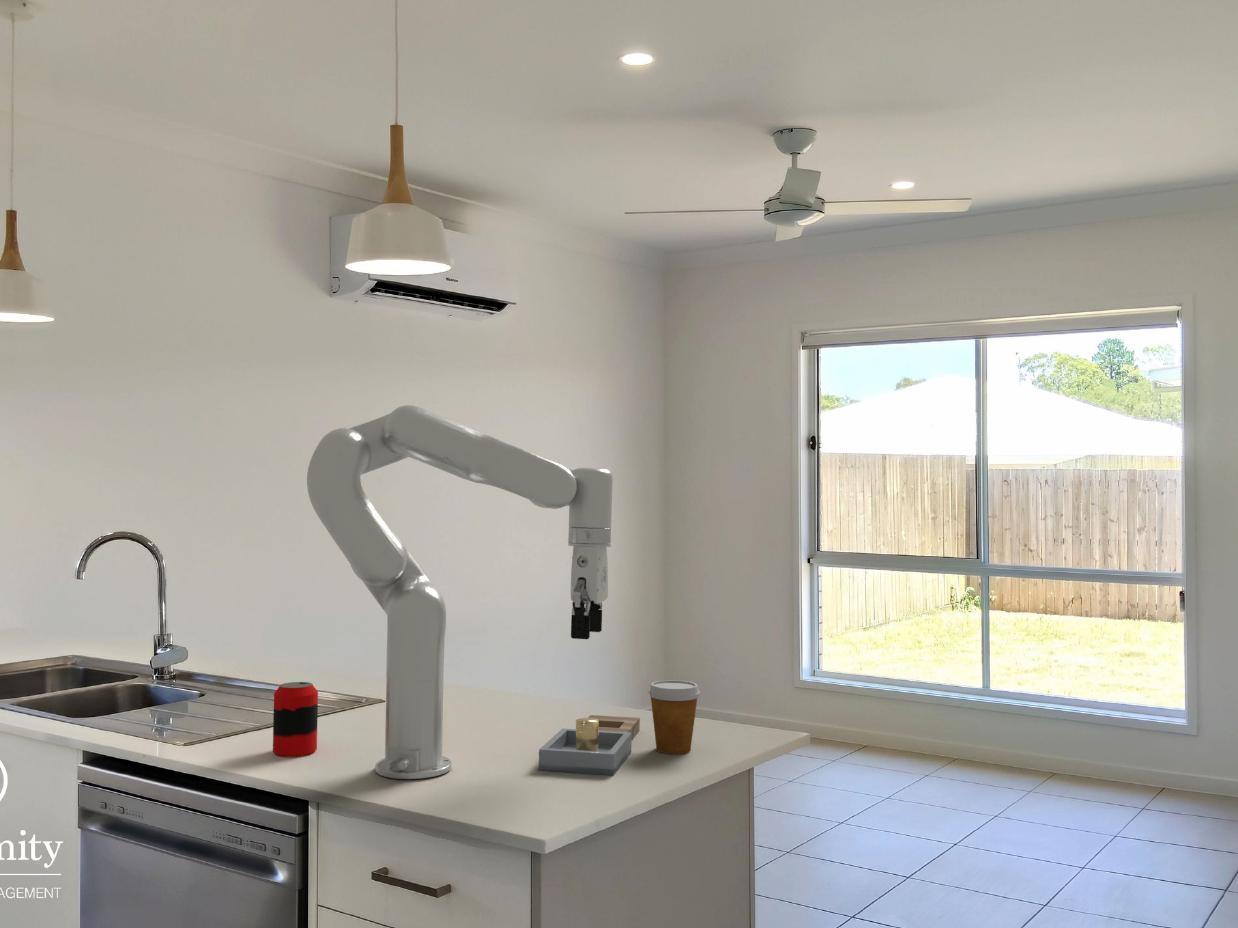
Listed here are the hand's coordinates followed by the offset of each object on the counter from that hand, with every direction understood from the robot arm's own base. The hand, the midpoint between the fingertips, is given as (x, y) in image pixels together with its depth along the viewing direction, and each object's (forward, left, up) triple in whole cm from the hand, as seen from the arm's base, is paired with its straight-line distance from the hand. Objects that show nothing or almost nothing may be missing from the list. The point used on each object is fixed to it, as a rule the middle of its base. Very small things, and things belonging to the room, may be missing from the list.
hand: (586, 634), depth 184 cm
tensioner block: (+18, 0, -22) cm, 29 cm away
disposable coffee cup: (+12, -14, -22) cm, 29 cm away
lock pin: (0, 0, -21) cm, 21 cm away
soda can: (-7, +52, -22) cm, 57 cm away
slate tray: (0, 0, -22) cm, 22 cm away
